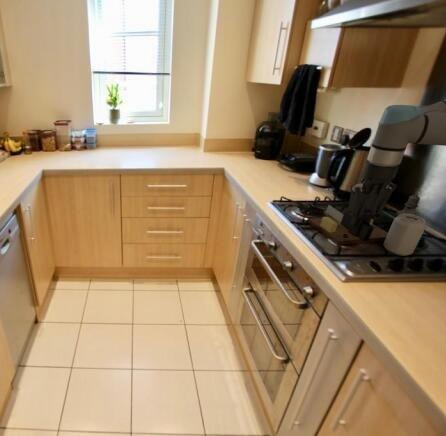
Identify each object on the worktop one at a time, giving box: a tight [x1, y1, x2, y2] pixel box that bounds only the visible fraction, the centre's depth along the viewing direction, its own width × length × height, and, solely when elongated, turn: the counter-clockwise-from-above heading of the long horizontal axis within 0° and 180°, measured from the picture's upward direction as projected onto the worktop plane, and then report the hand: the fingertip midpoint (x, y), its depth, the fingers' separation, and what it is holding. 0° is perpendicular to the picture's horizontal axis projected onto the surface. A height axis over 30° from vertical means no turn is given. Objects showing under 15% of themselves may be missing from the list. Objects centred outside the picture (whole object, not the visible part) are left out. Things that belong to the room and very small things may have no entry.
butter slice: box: [320, 216, 338, 232], centre depth 110 cm, size 5×2×4 cm, turn 6°
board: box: [306, 216, 388, 246], centre depth 112 cm, size 16×20×2 cm
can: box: [382, 213, 427, 257], centre depth 98 cm, size 8×8×12 cm
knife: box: [325, 204, 374, 241], centre depth 104 cm, size 18×2×5 cm, turn 6°
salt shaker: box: [396, 193, 421, 217], centre depth 114 cm, size 6×6×12 cm
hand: (356, 233), depth 101 cm, fingers closed on knife, 2 cm apart
